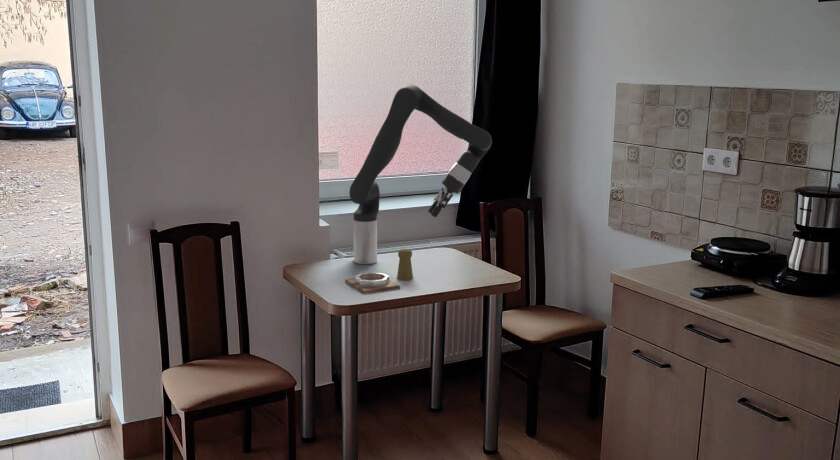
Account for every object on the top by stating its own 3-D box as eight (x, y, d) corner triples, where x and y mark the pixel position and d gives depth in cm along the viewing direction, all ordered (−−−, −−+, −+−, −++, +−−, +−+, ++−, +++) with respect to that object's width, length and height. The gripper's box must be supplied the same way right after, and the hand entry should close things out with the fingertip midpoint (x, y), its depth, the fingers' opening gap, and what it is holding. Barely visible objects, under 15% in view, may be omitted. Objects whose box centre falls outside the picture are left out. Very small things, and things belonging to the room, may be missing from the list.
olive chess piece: (411, 280, 285) (411, 251, 282) (395, 279, 286) (395, 250, 283) (414, 276, 290) (414, 247, 288) (398, 275, 291) (399, 246, 289)
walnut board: (345, 282, 282) (345, 279, 281) (379, 277, 288) (379, 274, 288) (363, 293, 268) (363, 290, 268) (399, 288, 275) (399, 285, 275)
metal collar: (351, 280, 280) (351, 274, 280) (379, 276, 286) (379, 271, 285) (364, 288, 270) (364, 282, 270) (393, 284, 276) (393, 278, 275)
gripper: (445, 170, 290) (421, 206, 291) (451, 173, 276) (425, 211, 277) (461, 182, 291) (437, 217, 292) (468, 185, 277) (442, 222, 278)
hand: (431, 214), depth 285 cm, fingers open, 8 cm apart
